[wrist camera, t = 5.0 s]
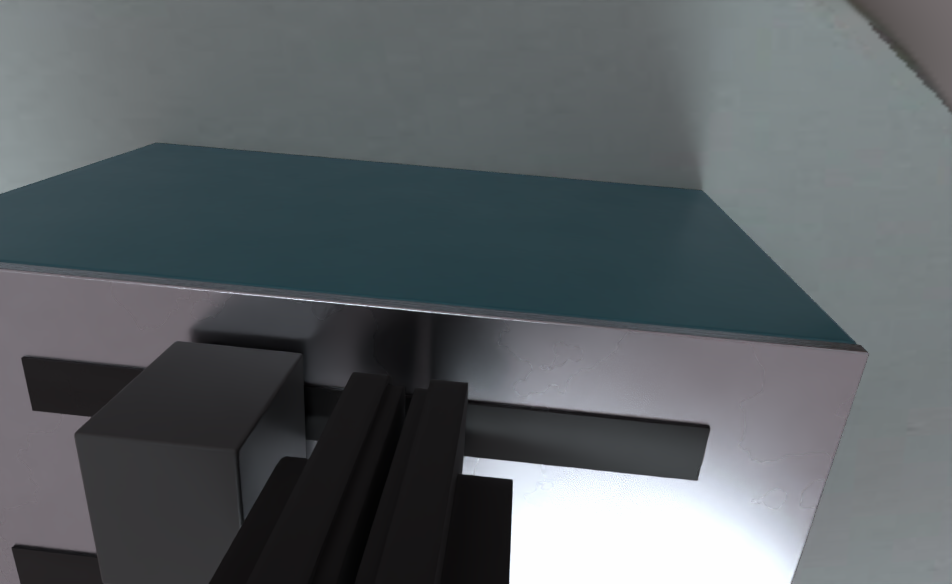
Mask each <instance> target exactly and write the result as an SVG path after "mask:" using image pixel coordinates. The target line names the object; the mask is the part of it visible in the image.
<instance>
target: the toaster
mask: <svg viewBox="0 0 952 584" xmlns="http://www.w3.org/2000/svg"><path fill="white" fill-rule="evenodd" d="M176 341H183V342H193V343H203V344H213V345H223V346H233V347H243V348H253V349H263V350H273V351H283V352H293V353H301V354H302V355H303V378H304V408H305V439H306V458H309V457H310V456H311V454H312V452H313V450H314V448H315V446H316V444H317V442H318V440H319V438H320V436H321V434H322V432H323V430H324V428H325V426H326V424H327V422H328V420H329V418H330V416H331V414H332V412H333V410H334V408H335V406H336V404H337V402H338V400H339V398H340V396H341V394H342V392H343V390H344V388H345V386H346V384H347V382H348V380H349V378H350V376H351V374H352V373H353V372H362V373H372V374H383V375H391V376H392V380H393V385H394V386H404V387H405V419H406V416H407V412H408V409H409V406H410V403H411V399H412V396H413V393H414V390H415V388H425V389H428V388H429V384H430V381H431V379H435V380H445V381H456V382H466V383H468V402H467V416H466V430H465V444H464V458H463V472H462V474H465V475H475V476H485V477H495V478H505V479H513V498H512V526H511V554H510V582H509V584H792V581H793V578H794V575H795V572H796V570H797V567H798V564H799V561H800V558H801V555H802V552H803V549H804V546H805V543H806V540H807V537H808V534H809V531H810V528H811V525H812V522H813V519H814V516H815V513H816V510H817V507H818V504H819V501H820V498H821V495H822V492H823V489H824V486H825V483H826V480H827V478H828V475H829V472H830V469H831V466H832V463H833V460H834V457H835V454H836V451H837V448H838V445H839V442H840V439H841V436H842V433H843V430H844V427H845V424H846V421H847V418H848V415H849V412H850V409H851V406H852V403H853V400H854V397H855V394H856V391H857V389H858V386H859V383H860V380H861V377H862V374H863V371H864V368H865V365H866V362H867V359H868V356H869V353H868V352H867V351H866V350H865V349H864V348H863V347H862V346H861V345H857V344H856V342H855V341H854V340H853V339H852V338H851V337H850V336H849V335H848V334H847V333H846V332H845V331H844V330H843V329H842V328H841V327H840V326H839V325H838V324H837V323H836V322H835V321H834V320H833V319H832V318H831V317H830V316H829V315H828V314H827V313H826V312H825V311H824V310H823V309H822V308H821V307H820V306H819V305H818V304H817V303H815V302H814V301H813V300H812V299H811V298H810V297H809V296H808V295H807V294H806V293H805V292H804V291H803V290H802V289H801V288H800V287H799V286H798V285H797V284H796V283H795V282H794V281H793V280H792V279H791V278H790V277H789V276H788V275H787V274H786V273H785V272H784V271H783V270H782V269H781V268H780V267H779V266H778V265H777V264H776V263H775V262H774V261H773V260H772V259H771V258H770V257H769V256H768V255H767V254H766V253H765V252H764V251H763V250H762V249H761V248H760V247H759V246H758V245H757V244H756V243H755V242H754V241H753V240H752V239H751V238H750V237H749V236H748V235H747V234H746V233H745V232H744V231H743V230H742V229H741V228H740V227H739V226H738V225H737V224H736V223H735V222H734V221H733V220H732V219H731V218H730V217H729V216H728V215H727V214H726V213H725V212H724V211H723V210H722V209H721V208H720V207H719V206H718V205H717V204H716V203H715V202H714V201H713V200H712V199H711V198H710V197H709V196H708V195H707V194H706V193H705V192H704V191H702V190H692V189H681V188H669V187H658V186H646V185H635V184H623V183H612V182H600V181H589V180H577V179H566V178H554V177H543V176H531V175H520V174H509V173H497V172H486V171H474V170H463V169H451V168H440V167H428V166H417V165H405V164H394V163H382V162H371V161H359V160H348V159H336V158H325V157H314V156H302V155H291V154H279V153H268V152H256V151H245V150H233V149H222V148H210V147H199V146H187V145H176V144H164V143H154V144H151V145H148V146H145V147H142V148H139V149H136V150H133V151H130V152H127V153H124V154H121V155H117V156H114V157H111V158H108V159H105V160H102V161H99V162H96V163H93V164H90V165H87V166H84V167H81V168H78V169H75V170H72V171H69V172H66V173H63V174H60V175H57V176H54V177H51V178H48V179H45V180H42V181H39V182H35V183H32V184H29V185H26V186H23V187H20V188H17V189H14V190H11V191H8V192H5V193H2V194H0V584H104V583H103V582H102V579H101V573H100V568H99V563H98V558H97V553H96V547H95V542H94V537H93V532H92V527H91V521H90V516H89V511H88V506H87V501H86V495H85V490H84V485H83V480H82V475H81V470H80V464H79V459H78V454H77V449H76V444H75V438H74V434H75V432H76V431H77V430H78V429H79V428H80V427H81V426H82V425H84V424H85V423H86V422H87V421H88V420H89V419H90V418H91V417H92V416H94V415H95V414H96V413H97V412H98V411H99V410H100V409H101V408H102V407H103V406H105V405H106V404H107V403H108V402H109V401H110V400H111V399H112V398H113V397H114V396H116V395H117V394H118V393H119V392H120V391H121V390H122V389H123V388H124V387H126V386H127V385H128V384H129V383H130V382H131V381H132V380H133V379H134V378H135V377H137V376H138V375H139V374H140V373H141V372H142V371H143V370H144V369H145V368H146V367H148V366H149V365H150V364H151V363H152V362H153V361H154V360H155V359H156V358H157V357H159V356H160V355H161V354H162V353H163V352H164V351H165V350H166V349H167V348H169V347H170V346H171V345H172V344H173V343H174V342H176Z"/></svg>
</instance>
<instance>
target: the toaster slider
mask: <svg viewBox="0 0 952 584" xmlns="http://www.w3.org/2000/svg"><path fill="white" fill-rule="evenodd" d="M74 438H75V444H76V449H77V454H78V459H79V464H80V470H81V475H82V480H83V485H84V490H85V495H86V501H87V506H88V511H89V516H90V521H91V527H92V532H93V537H94V542H95V547H96V553H97V558H98V563H99V568H100V573H101V579H102V582H103V583H104V584H209V582H210V580H211V579H212V577H213V575H214V573H215V572H216V570H217V568H218V566H219V565H220V563H221V561H222V559H223V558H224V556H225V554H226V552H227V551H228V549H229V547H230V545H231V544H232V542H233V540H234V538H235V537H236V535H237V533H238V531H239V530H240V528H241V526H242V524H243V523H244V521H245V519H246V517H247V516H248V514H249V512H250V510H251V509H252V507H253V505H254V503H255V501H256V500H257V498H258V496H259V494H260V493H261V491H262V489H263V487H264V486H265V484H266V482H267V480H268V479H269V477H270V475H271V473H272V472H273V470H274V468H275V466H276V465H277V464H278V462H279V461H280V459H281V458H283V457H285V456H289V457H299V458H306V439H305V408H304V378H303V355H302V354H301V353H293V352H283V351H273V350H263V349H253V348H243V347H233V346H223V345H213V344H203V343H193V342H183V341H176V342H174V343H173V344H172V345H171V346H170V347H169V348H167V349H166V350H165V351H164V352H163V353H162V354H161V355H160V356H159V357H157V358H156V359H155V360H154V361H153V362H152V363H151V364H150V365H149V366H148V367H146V368H145V369H144V370H143V371H142V372H141V373H140V374H139V375H138V376H137V377H135V378H134V379H133V380H132V381H131V382H130V383H129V384H128V385H127V386H126V387H124V388H123V389H122V390H121V391H120V392H119V393H118V394H117V395H116V396H114V397H113V398H112V399H111V400H110V401H109V402H108V403H107V404H106V405H105V406H103V407H102V408H101V409H100V410H99V411H98V412H97V413H96V414H95V415H94V416H92V417H91V418H90V419H89V420H88V421H87V422H86V423H85V424H84V425H82V426H81V427H80V428H79V429H78V430H77V431H76V432H75V434H74Z"/></svg>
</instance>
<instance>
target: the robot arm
mask: <svg viewBox="0 0 952 584" xmlns="http://www.w3.org/2000/svg"><path fill="white" fill-rule="evenodd" d="M467 402H468V383H466V382H456V381H445V380H435V379H431V381H430V384H429V388H428V389H425V388H415V390H414V393H413V396H412V399H411V403H410V406H409V409H408V412H407V416H406V419H405V387H404V386H394V385H393V380H392V376H391V375H383V374H372V373H362V372H353V373H352V374H351V376H350V378H349V380H348V382H347V384H346V386H345V388H344V390H343V392H342V394H341V396H340V398H339V400H338V402H337V404H336V406H335V408H334V410H333V412H332V414H331V416H330V418H329V420H328V422H327V424H326V426H325V428H324V430H323V432H322V434H321V436H320V438H319V440H318V442H317V444H316V446H315V448H314V450H313V452H312V454H311V456H310V457H309V458H299V457H289V456H285V457H283V458H281V459H280V461H279V462H278V464H277V465H276V466H275V468H274V470H273V472H272V473H271V475H270V477H269V479H268V480H267V482H266V484H265V486H264V487H263V489H262V491H261V493H260V494H259V496H258V498H257V500H256V501H255V503H254V505H253V507H252V509H251V510H250V512H249V514H248V516H247V517H246V519H245V521H244V523H243V524H242V526H241V528H240V530H239V531H238V533H237V535H236V537H235V538H234V540H233V542H232V544H231V545H230V547H229V549H228V551H227V552H226V554H225V556H224V558H223V559H222V561H221V563H220V565H219V566H218V568H217V570H216V572H215V573H214V575H213V577H212V579H211V580H210V582H209V584H509V582H510V554H511V526H512V498H513V479H505V478H495V477H485V476H475V475H465V474H462V472H463V458H464V444H465V430H466V416H467Z"/></svg>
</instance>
